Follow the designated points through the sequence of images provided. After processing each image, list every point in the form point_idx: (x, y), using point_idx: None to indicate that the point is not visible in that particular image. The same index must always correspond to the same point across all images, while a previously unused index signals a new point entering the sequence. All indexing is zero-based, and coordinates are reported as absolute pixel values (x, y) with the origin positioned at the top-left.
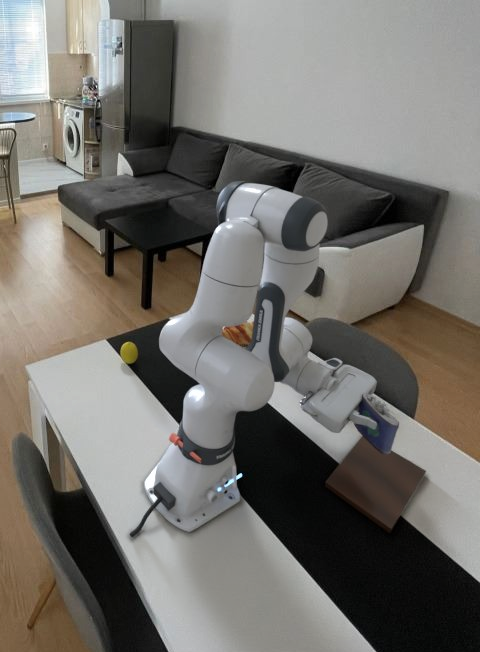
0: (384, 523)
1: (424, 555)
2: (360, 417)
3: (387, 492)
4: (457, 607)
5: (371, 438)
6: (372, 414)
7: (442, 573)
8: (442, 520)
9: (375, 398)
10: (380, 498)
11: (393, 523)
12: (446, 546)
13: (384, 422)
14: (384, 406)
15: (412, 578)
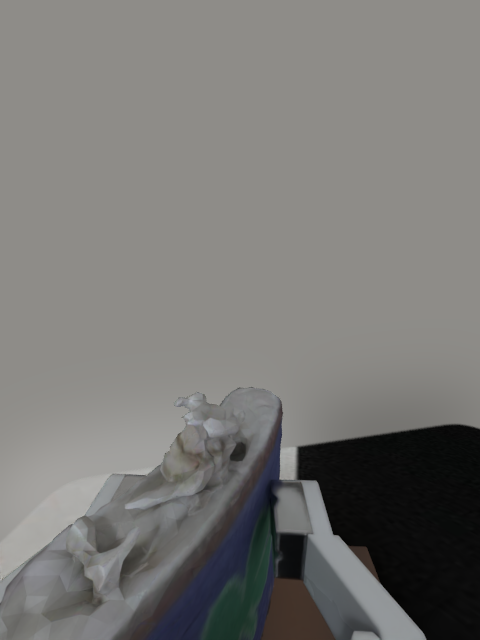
0: (373, 565)
1: (333, 494)
2: (385, 594)
3: (274, 598)
4: (359, 449)
5: (262, 612)
6: (245, 527)
7: (334, 469)
8: None
9: (10, 576)
10: (314, 609)
11: (349, 547)
12: (281, 475)
13: (278, 436)
14: (104, 491)
15: (394, 497)
